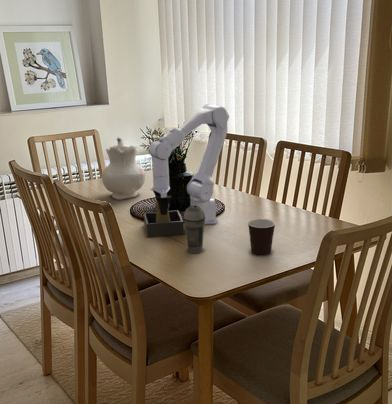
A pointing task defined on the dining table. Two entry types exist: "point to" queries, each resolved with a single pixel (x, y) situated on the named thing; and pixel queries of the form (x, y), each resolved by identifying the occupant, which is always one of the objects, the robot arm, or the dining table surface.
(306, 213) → the dining table surface
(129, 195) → the ceramic pitcher
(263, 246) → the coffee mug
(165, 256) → the dining table surface
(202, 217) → the beverage cup
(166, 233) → the bin
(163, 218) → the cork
